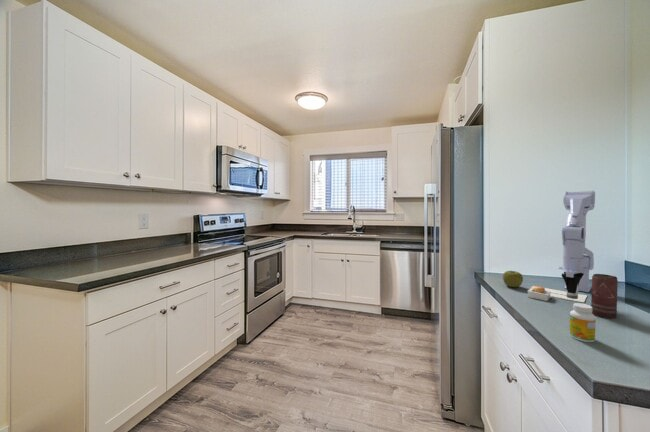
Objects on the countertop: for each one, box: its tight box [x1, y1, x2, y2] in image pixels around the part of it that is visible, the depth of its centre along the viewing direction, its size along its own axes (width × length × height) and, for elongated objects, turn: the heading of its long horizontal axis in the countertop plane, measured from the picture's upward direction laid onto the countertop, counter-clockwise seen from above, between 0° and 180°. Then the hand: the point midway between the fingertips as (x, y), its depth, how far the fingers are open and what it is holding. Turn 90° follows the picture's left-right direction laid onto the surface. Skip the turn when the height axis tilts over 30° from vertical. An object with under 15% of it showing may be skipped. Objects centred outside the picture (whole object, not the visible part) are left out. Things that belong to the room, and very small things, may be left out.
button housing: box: [527, 287, 552, 302], centre depth 110 cm, size 6×6×2 cm
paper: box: [526, 285, 588, 304], centre depth 113 cm, size 11×18×1 cm, turn 40°
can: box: [590, 273, 619, 320], centre depth 91 cm, size 6×6×14 cm
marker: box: [566, 286, 579, 299], centre depth 103 cm, size 3×3×8 cm
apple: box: [502, 270, 524, 288], centre depth 124 cm, size 8×8×7 cm
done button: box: [533, 285, 546, 294], centre depth 110 cm, size 4×4×2 cm
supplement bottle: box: [569, 302, 597, 343], centre depth 77 cm, size 5×5×10 cm
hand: (572, 291), depth 103 cm, fingers closed on marker, 3 cm apart
